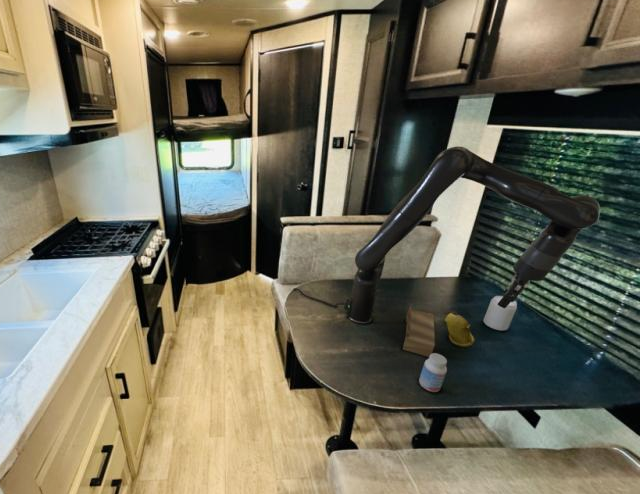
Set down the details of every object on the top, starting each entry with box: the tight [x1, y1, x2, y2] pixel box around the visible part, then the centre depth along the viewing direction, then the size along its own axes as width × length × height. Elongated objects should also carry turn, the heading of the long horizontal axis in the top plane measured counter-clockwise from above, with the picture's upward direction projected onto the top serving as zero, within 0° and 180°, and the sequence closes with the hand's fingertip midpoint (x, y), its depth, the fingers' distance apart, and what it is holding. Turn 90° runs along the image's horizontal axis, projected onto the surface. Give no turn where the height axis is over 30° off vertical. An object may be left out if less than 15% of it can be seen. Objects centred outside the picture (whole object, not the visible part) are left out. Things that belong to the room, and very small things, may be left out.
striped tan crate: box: [402, 304, 436, 358], centre depth 120 cm, size 20×9×8 cm, turn 152°
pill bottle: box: [418, 352, 448, 393], centre depth 98 cm, size 6×6×11 cm
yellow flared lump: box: [444, 311, 476, 348], centre depth 115 cm, size 12×8×15 cm
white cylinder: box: [483, 295, 518, 332], centre depth 125 cm, size 8×8×12 cm
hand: (504, 299), depth 100 cm, fingers open, 8 cm apart
